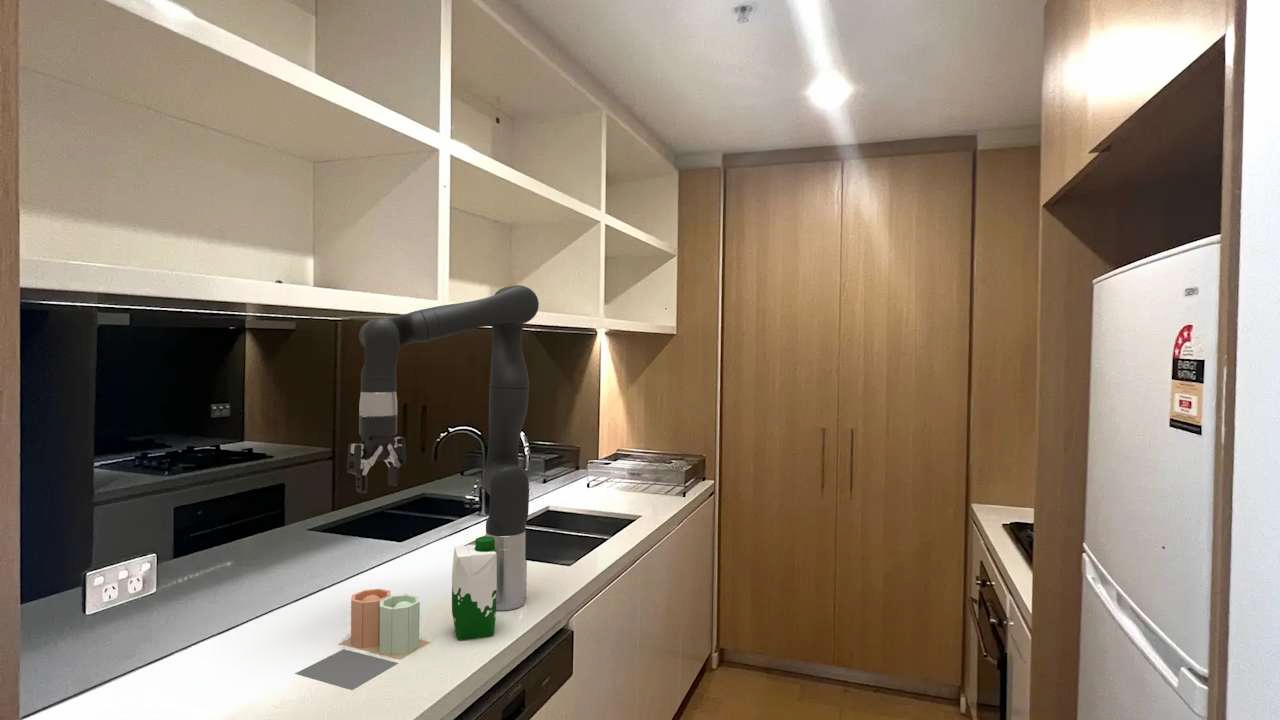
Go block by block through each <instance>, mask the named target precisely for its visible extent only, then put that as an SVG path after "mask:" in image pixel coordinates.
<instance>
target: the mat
mask: <svg viewBox="0 0 1280 720" xmlns="http://www.w3.org/2000/svg"><path fill="white" fill-rule="evenodd" d="M398 664H399V662H396V661H392V660H387V659H384V658H380V657H376V656H373V655H368V654H365V653H361V652H356V651H353V650H349V649H345V648H342V649H341V650H339V651H337V652H335V653H333V654H331V655H329V656H327V657H325V658H322V659H321V660H319V661H317V662H315V663H313V664H310V665H309V666H307V667H305V668H303V669H301V670H299V671H297V672H295V673H294V675H298V676H302V677H304V678H308V679H312V680H315V681H319V682H322V683H326V684H329V685H333V686H336V687H340V688H342V689H347V690H351V691H353V690H356V689H357V688H359V687H360V686H362V685H364V684H365V683H367V682H369V681H371V680H372V679H375V677H377V676H380V675H381V674H383V673H385V672H386V671H387V670H390V669H391V668H393V667H395V666H396V665H398Z"/></svg>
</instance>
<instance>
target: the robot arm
mask: <svg viewBox="0 0 1280 720" xmlns="http://www.w3.org/2000/svg"><path fill="white" fill-rule="evenodd" d="M539 304H540V303H539V299H538V296H537V295H536V293H535V292H534V291H533V290H532V289H531V288H529V287H527V286H524V285H518V284H516V285H510V286H505V287H502V288H499V290H497V291H496V292H495V293H494V295H491V296H487V297H483V298H480V299H476V300H472V301H471V300H469V301H463V302H459V303H458V302H456V303H452V304H445V305H444V304H443V305H438V306H432V307H428V308H423V309H418V310H415V311H411V312H408V313H406V314H402V315H401V314H400V315H395V316H388V317H381V318H376V319H371V320H369V321H367V322H365V323H364V324H363V325H362V326H361V328H360V330H359V333H358V338H359V341H360V344H361V345H362V347H364V364H363V367H362V368H361V372H360V397H359V406H358V407H359V410H358V411H359V413H358V417H359V418H358V421H359V422H358V425H359V426H358V432H359V436H360V438H361V442H360V443H349V444H348V446H347V460H346V461H347V463H346V472H347V473H348V474H353V475H354V476H355V491H356V493H358V494H367V493H368V488H369V487H368V481H369V480H368V475H367V474H368V473H369V470H370V469H371V467H373V466H374V465H375V463H378V462H381V461H384V462H385V463H386V466H387V467H388V468H387V486H391V487H396V486H397V485H398V484H399V478H400V477H399V474H400V473H399V471H400V470H399V469H400V468H401V467H402V465H405V464H406V463H407V439H406V437H404V436H403V437H402V436H395V435H397V434H398V397H397V367H398V366H397V364H398V360H399V353H400V347H402V346H406V345H410V344H419V343H420V344H421V343H426V342H429V341H434V340H439V339H442V338H447V337H450V336H454V335H457V334H460V333H465V332H468V331H472V330H476V329H479V328H483V327H490V326H491V334H492V335H491V336H492V345H491V346H492V347H491V349H492V350H491V361H490V376H489V392H488V447H487V454H486V462H485V468H484V475H483V485H484V488H485V491H486V493H487V495H489V508H488V509H489V513H488V518H487V519H486V522H485V537H486V536H488V537H494V538H495V548H496V554H497V592H496V611H510V610H515V609H518V608H521V607H522V606H523V605H524V604H525V602H526V601H525V600H527V572H528V571H527V568H528V561H527V559H526V531H527V530H526V524H527V520H528V517H529V505H530V504H529V503H530V482H529V477H528V475H527V473H526V472H525V470H524V469H522V468H521V467H520V464H519V463H520V461H519V456H520V455H519V445H520V437H521V433H522V430H523V427H524V424H525V420H526V417H527V413H528V408H529V406H528V405H529V395H530V393H529V392H530V391H529V390H530V378H529V374H528V373H529V372H528V369H527V363H526V361H525V356H524V353H523V352H524V351H523V345H522V344H523V340H522V339H523V327H524V324H526V323H528V322H530V321H531V320H533V319H534V318H535V316H536V315H537V313H538V312H539V308H540V307H539Z"/></svg>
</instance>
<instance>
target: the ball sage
mask: <svg viewBox="0 0 1280 720" xmlns="http://www.w3.org/2000/svg"><path fill="white" fill-rule="evenodd" d="M410 604H412V603H410V602H408V601H402V602H399V603H397V604H396V605H395V606H394V608H395V607H404V606H408V605H410Z"/></svg>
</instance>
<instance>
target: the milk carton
mask: <svg viewBox="0 0 1280 720" xmlns="http://www.w3.org/2000/svg"><path fill="white" fill-rule="evenodd" d="M453 550H454V551H453V552H454V553H453V559H452V570H451V571H452V572H451V573H452V574H451V614H452V620H453V625H454V629H455V635H456V640H457V641H458V642H462V641H469V640H476V639H483V638H490V637H494V636H495V627H496V617H497V610H496V592H497V554H496V548H495V538H494V537H488V536H486V535H485V536H480V537H477V538H475V544H467V545H462V546H459V545H458V546H454V549H453Z"/></svg>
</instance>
